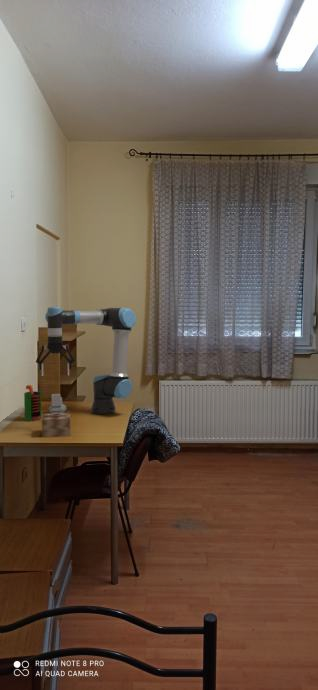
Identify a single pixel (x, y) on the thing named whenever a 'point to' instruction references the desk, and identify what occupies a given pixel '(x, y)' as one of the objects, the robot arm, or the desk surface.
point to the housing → (56, 425)
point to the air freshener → (63, 407)
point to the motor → (32, 404)
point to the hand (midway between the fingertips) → (55, 375)
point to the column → (56, 405)
